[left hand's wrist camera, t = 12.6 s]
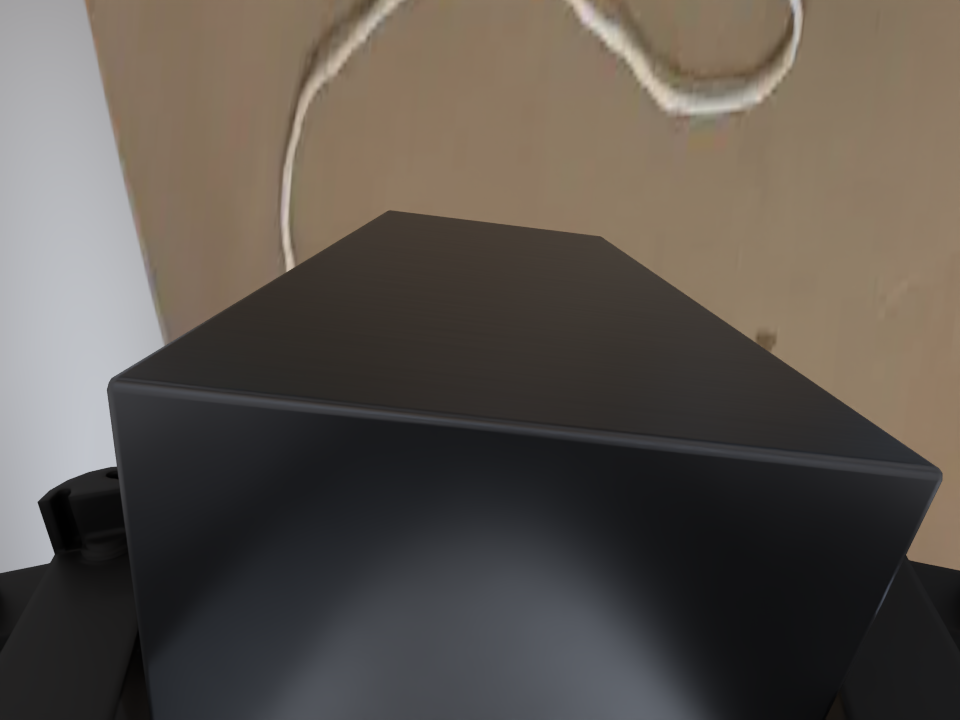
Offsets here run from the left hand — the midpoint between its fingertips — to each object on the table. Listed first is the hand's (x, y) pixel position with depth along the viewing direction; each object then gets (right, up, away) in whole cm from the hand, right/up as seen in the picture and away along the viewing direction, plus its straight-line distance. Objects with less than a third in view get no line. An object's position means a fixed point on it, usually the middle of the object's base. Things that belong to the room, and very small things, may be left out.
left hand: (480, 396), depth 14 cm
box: (-1, -7, +6) cm, 9 cm away
